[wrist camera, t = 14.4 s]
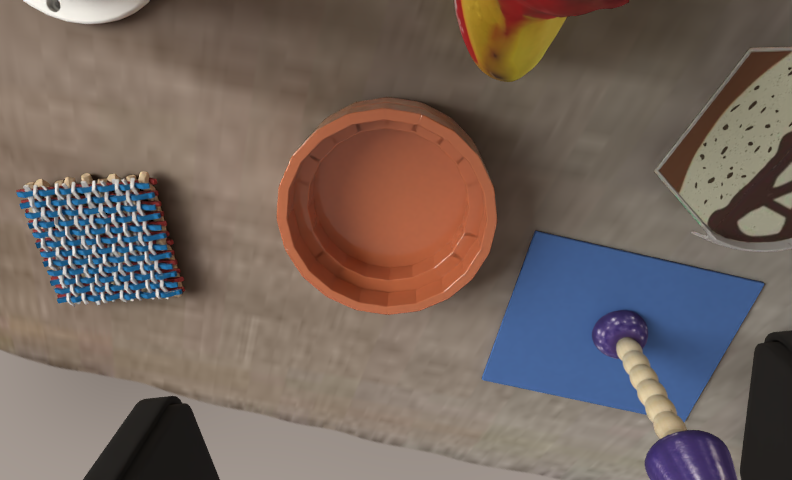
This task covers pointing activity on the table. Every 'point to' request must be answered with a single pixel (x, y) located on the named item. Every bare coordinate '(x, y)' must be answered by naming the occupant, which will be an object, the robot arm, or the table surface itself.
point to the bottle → (516, 30)
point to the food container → (740, 157)
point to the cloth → (607, 292)
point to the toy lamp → (661, 408)
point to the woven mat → (103, 238)
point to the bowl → (387, 207)
